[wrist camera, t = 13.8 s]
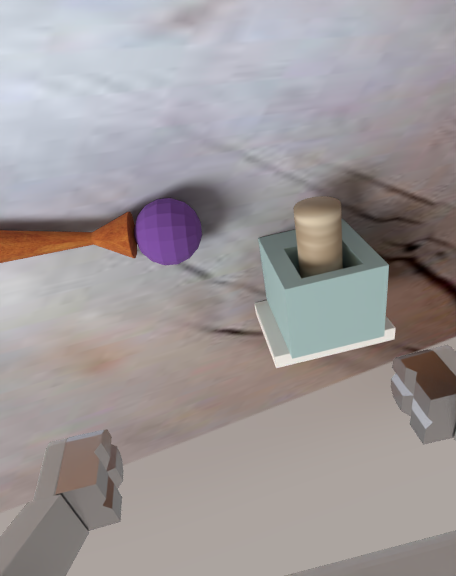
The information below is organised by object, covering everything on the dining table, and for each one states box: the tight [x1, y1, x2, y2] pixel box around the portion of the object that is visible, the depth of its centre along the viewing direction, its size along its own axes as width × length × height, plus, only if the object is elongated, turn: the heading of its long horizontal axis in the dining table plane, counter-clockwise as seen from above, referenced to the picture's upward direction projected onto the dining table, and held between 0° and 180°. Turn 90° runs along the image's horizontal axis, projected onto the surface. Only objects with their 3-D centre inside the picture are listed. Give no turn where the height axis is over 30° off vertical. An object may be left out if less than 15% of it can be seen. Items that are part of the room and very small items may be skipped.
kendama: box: [0, 198, 202, 265], centre depth 36 cm, size 6×6×20 cm
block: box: [258, 219, 389, 359], centre depth 40 cm, size 8×9×10 cm
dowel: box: [294, 196, 343, 279], centre depth 38 cm, size 10×4×4 cm, turn 10°
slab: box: [254, 300, 395, 368], centre depth 43 cm, size 2×12×9 cm, turn 100°
